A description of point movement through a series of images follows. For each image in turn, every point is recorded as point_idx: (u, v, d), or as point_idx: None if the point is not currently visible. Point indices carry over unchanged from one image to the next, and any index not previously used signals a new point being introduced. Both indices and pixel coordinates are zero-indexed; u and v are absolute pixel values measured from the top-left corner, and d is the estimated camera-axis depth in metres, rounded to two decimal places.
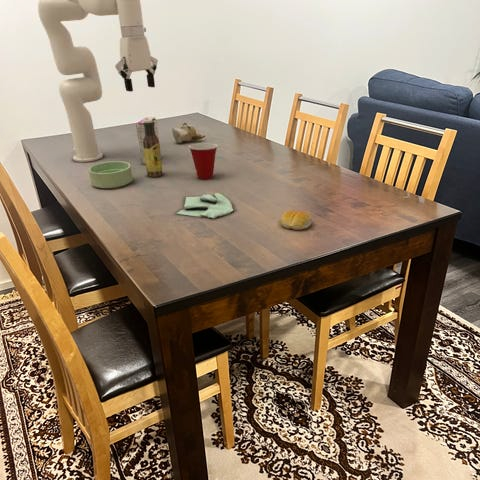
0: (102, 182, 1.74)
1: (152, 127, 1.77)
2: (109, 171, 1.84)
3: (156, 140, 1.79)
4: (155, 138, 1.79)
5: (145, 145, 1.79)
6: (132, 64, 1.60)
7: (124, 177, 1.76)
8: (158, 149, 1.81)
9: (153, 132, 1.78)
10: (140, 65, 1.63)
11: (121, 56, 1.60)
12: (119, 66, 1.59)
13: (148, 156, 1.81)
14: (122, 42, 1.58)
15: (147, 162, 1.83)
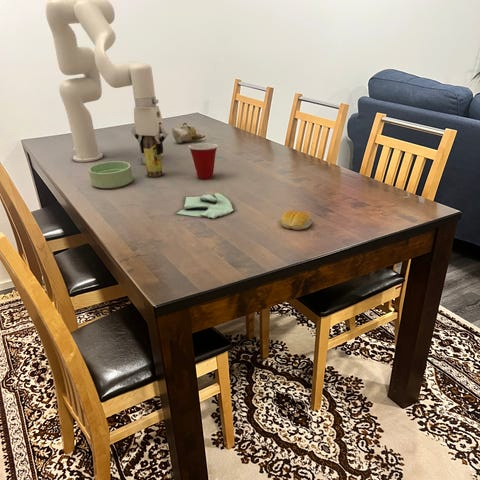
0: (102, 182, 1.74)
1: None
2: (109, 171, 1.84)
3: None
4: None
5: (145, 145, 1.79)
6: (137, 129, 1.78)
7: (124, 177, 1.76)
8: None
9: None
10: (145, 131, 1.77)
11: None
12: (132, 131, 1.81)
13: (148, 156, 1.81)
14: None
15: (147, 162, 1.83)
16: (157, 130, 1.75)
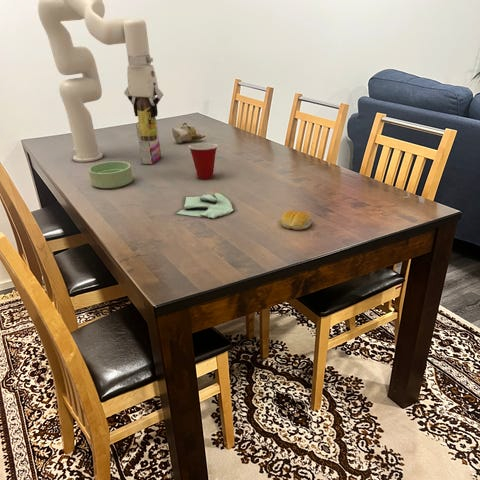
0: (102, 182, 1.74)
1: None
2: (109, 171, 1.84)
3: None
4: (149, 100, 1.71)
5: (139, 107, 1.72)
6: (131, 90, 1.70)
7: (124, 177, 1.76)
8: None
9: None
10: (138, 92, 1.69)
11: None
12: (125, 93, 1.73)
13: (142, 119, 1.74)
14: None
15: (141, 125, 1.75)
16: (151, 91, 1.68)
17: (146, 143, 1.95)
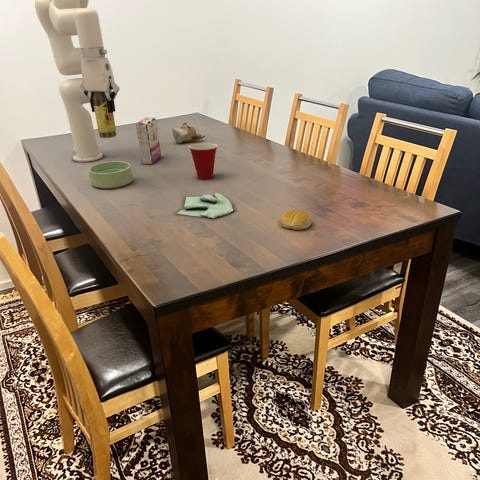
0: (102, 182, 1.74)
1: None
2: (109, 171, 1.84)
3: None
4: None
5: (95, 102, 1.64)
6: (86, 84, 1.63)
7: (124, 177, 1.76)
8: None
9: None
10: (94, 86, 1.62)
11: None
12: (81, 87, 1.66)
13: (99, 115, 1.66)
14: None
15: (98, 121, 1.68)
16: (107, 84, 1.60)
17: (146, 143, 1.95)
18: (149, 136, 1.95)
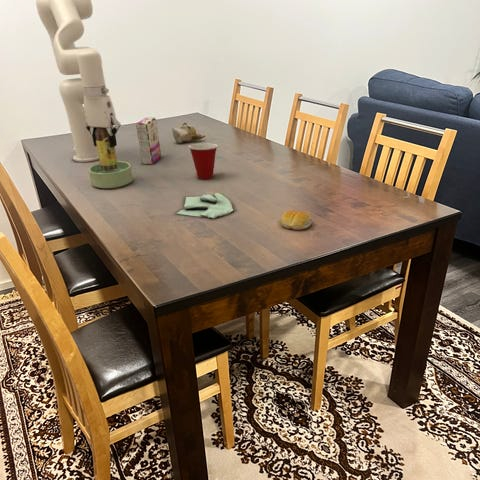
0: (102, 182, 1.74)
1: None
2: (109, 171, 1.84)
3: None
4: None
5: (97, 137, 1.70)
6: (88, 120, 1.68)
7: (124, 177, 1.76)
8: None
9: None
10: (96, 122, 1.68)
11: None
12: (84, 123, 1.72)
13: (101, 149, 1.72)
14: None
15: (100, 155, 1.74)
16: (108, 121, 1.66)
17: (146, 143, 1.95)
18: (149, 136, 1.95)
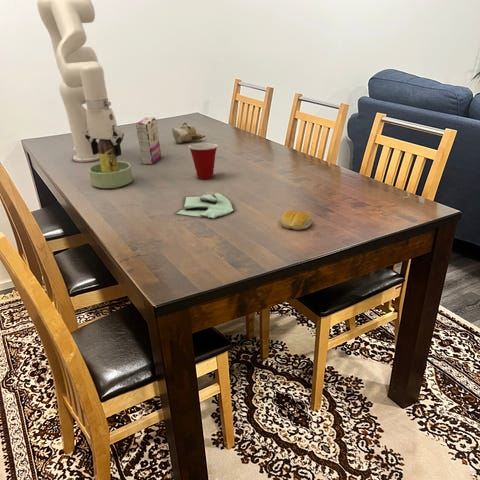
0: (102, 182, 1.74)
1: None
2: None
3: (111, 145, 1.73)
4: (109, 143, 1.72)
5: (99, 150, 1.73)
6: (90, 132, 1.71)
7: (124, 177, 1.76)
8: (113, 154, 1.74)
9: None
10: (98, 134, 1.70)
11: None
12: (83, 131, 1.73)
13: (103, 162, 1.74)
14: None
15: (102, 168, 1.76)
16: (110, 133, 1.68)
17: (146, 143, 1.95)
18: (149, 136, 1.95)
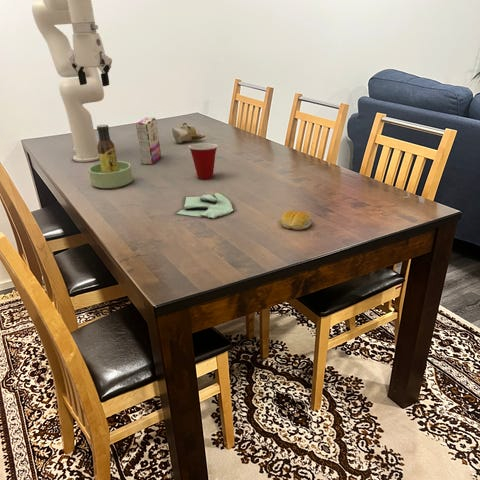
0: (102, 182, 1.74)
1: (106, 131, 1.70)
2: None
3: (111, 145, 1.73)
4: (109, 143, 1.72)
5: (99, 150, 1.73)
6: (77, 59, 1.64)
7: (124, 177, 1.76)
8: (113, 154, 1.74)
9: (107, 137, 1.71)
10: (85, 62, 1.64)
11: None
12: (70, 59, 1.67)
13: (103, 162, 1.74)
14: None
15: (102, 168, 1.76)
16: (98, 60, 1.62)
17: (146, 143, 1.95)
18: (149, 136, 1.95)
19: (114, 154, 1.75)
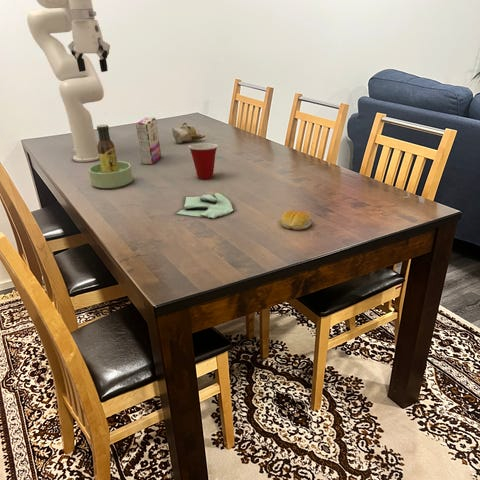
0: (102, 182, 1.74)
1: (106, 131, 1.70)
2: None
3: (111, 145, 1.73)
4: (109, 143, 1.72)
5: (99, 150, 1.73)
6: (76, 46, 1.69)
7: (124, 177, 1.76)
8: (113, 154, 1.74)
9: (107, 137, 1.71)
10: (84, 48, 1.68)
11: None
12: (69, 46, 1.72)
13: (103, 162, 1.74)
14: None
15: (102, 168, 1.76)
16: (96, 46, 1.66)
17: (146, 143, 1.95)
18: (149, 136, 1.95)
19: (114, 154, 1.75)
